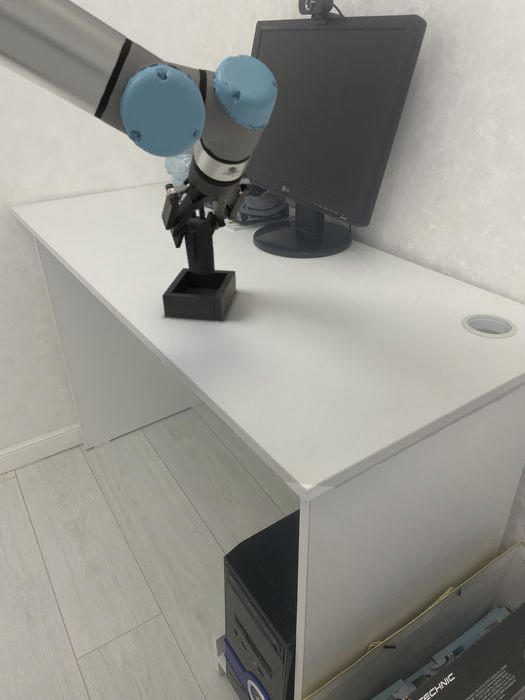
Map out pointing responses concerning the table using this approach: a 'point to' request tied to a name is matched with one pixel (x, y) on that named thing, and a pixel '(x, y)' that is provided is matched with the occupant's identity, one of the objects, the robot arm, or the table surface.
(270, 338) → the table surface
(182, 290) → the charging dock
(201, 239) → the two-way radio
